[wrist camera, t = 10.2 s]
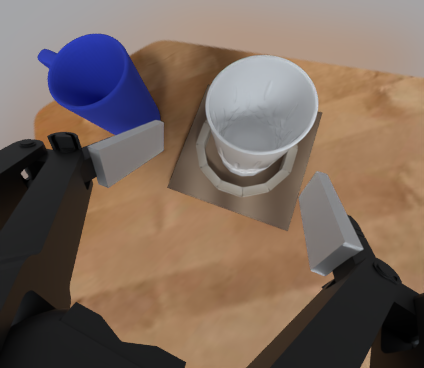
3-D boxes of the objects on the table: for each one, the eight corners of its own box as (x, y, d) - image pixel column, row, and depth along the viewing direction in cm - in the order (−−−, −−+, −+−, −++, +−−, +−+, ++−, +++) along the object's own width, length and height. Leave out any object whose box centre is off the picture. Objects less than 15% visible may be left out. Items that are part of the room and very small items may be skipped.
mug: (115, 84, 27) (50, 11, 17) (177, 112, 25) (143, 48, 15) (88, 126, 26) (3, 75, 16) (150, 159, 24) (95, 123, 14)
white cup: (204, 150, 22) (184, 101, 12) (247, 113, 22) (261, 36, 12) (243, 193, 21) (257, 178, 11) (290, 153, 21) (344, 101, 11)
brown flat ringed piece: (317, 117, 22) (329, 105, 20) (284, 230, 21) (292, 232, 18) (209, 90, 25) (206, 76, 22) (170, 188, 23) (162, 185, 20)
